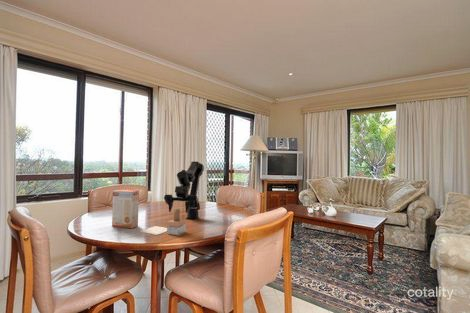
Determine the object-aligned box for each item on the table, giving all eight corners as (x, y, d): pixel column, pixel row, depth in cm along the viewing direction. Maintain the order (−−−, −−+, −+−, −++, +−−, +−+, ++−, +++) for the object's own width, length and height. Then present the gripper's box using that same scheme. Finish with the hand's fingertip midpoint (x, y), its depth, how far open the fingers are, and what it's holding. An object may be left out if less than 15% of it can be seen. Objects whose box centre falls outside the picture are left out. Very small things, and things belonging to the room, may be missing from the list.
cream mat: (139, 232, 134) (139, 231, 134) (155, 226, 145) (155, 226, 145) (157, 235, 130) (157, 234, 130) (171, 229, 141) (172, 228, 141)
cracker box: (138, 226, 146) (139, 190, 146) (131, 228, 140) (132, 191, 140) (119, 223, 150) (120, 189, 151) (111, 226, 145) (112, 190, 145)
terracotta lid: (167, 225, 133) (168, 210, 133) (175, 222, 139) (175, 207, 139) (177, 227, 130) (178, 211, 130) (185, 224, 136) (185, 209, 136)
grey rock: (166, 233, 133) (167, 223, 133) (175, 230, 139) (175, 220, 139) (177, 235, 130) (178, 224, 130) (185, 231, 136) (185, 221, 136)
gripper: (165, 180, 143) (157, 202, 131) (197, 181, 141) (191, 204, 130) (170, 192, 150) (162, 214, 139) (200, 193, 148) (195, 216, 137)
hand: (177, 212), depth 136 cm, fingers open, 9 cm apart
